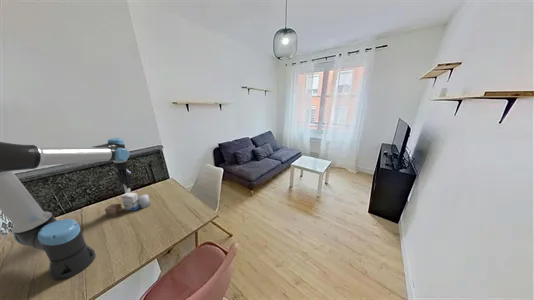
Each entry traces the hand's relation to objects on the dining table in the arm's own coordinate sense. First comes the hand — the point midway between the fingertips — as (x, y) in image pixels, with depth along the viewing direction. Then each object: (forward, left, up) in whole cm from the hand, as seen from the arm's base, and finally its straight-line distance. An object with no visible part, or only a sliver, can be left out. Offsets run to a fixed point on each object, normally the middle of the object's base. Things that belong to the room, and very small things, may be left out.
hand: (128, 192), depth 121 cm
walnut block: (-8, +6, -14) cm, 17 cm away
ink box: (0, 0, -14) cm, 14 cm away
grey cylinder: (+5, -6, -14) cm, 16 cm away
